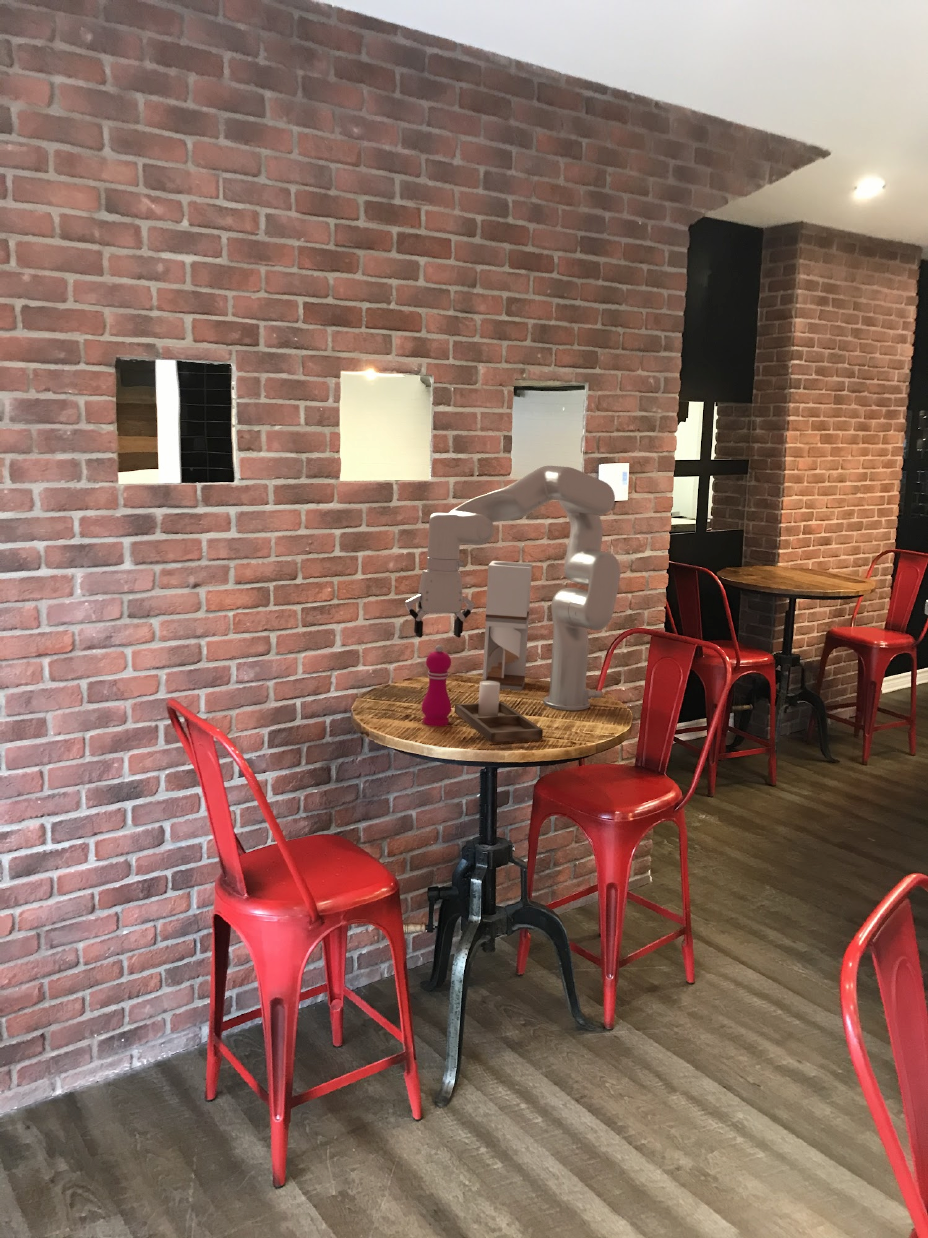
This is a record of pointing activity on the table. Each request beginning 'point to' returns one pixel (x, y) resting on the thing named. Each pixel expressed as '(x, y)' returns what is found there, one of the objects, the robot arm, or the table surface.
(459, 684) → the table surface
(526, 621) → the spiral ramp tower
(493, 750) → the table surface
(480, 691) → the salt shaker
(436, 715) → the pepper mill
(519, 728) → the walnut cruet tray
